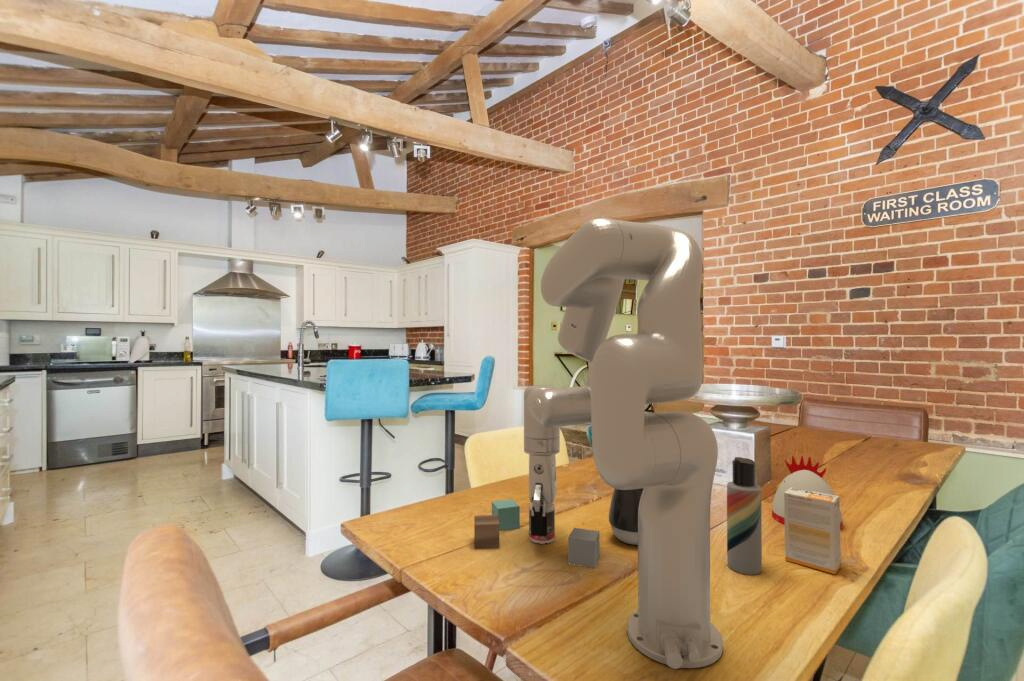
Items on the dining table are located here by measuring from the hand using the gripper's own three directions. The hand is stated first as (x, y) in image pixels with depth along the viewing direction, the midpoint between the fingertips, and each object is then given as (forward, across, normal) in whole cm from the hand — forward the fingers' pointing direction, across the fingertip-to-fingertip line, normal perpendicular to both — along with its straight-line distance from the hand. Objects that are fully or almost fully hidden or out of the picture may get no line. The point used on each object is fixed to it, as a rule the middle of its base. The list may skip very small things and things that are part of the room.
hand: (541, 526), depth 99 cm
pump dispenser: (+3, +3, -19) cm, 19 cm away
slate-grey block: (+3, -8, -9) cm, 12 cm away
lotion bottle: (+3, -6, -38) cm, 39 cm away
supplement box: (+3, -2, -51) cm, 51 cm away
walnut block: (+3, -4, +11) cm, 12 cm away
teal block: (+3, +6, +9) cm, 11 cm away
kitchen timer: (+3, +21, -59) cm, 63 cm away
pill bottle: (+3, 0, 0) cm, 3 cm away
